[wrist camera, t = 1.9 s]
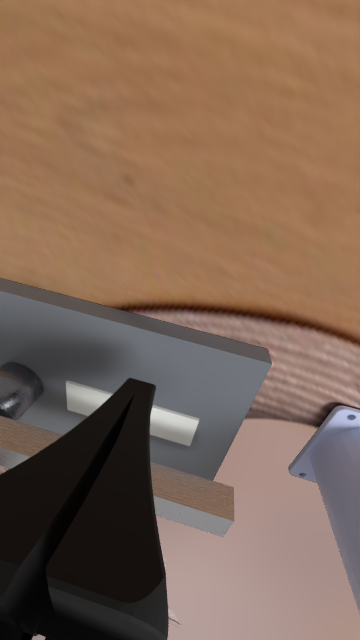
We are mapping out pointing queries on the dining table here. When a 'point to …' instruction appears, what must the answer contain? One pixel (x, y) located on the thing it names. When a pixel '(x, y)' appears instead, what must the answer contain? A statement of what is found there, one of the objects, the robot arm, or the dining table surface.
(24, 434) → the swing bar
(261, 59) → the dining table surface
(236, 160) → the dining table surface
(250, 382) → the label panel
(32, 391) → the grooved metal knob
